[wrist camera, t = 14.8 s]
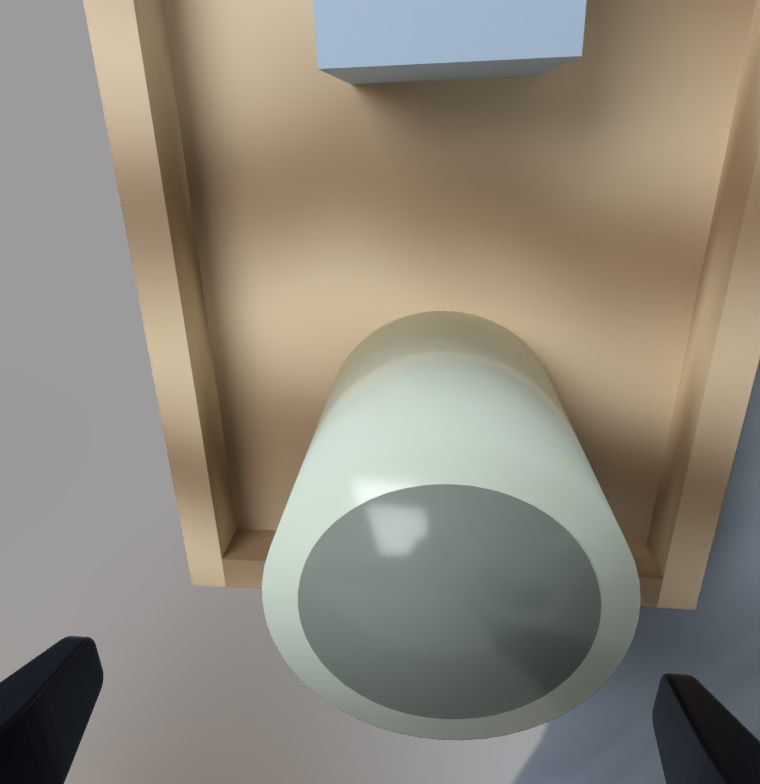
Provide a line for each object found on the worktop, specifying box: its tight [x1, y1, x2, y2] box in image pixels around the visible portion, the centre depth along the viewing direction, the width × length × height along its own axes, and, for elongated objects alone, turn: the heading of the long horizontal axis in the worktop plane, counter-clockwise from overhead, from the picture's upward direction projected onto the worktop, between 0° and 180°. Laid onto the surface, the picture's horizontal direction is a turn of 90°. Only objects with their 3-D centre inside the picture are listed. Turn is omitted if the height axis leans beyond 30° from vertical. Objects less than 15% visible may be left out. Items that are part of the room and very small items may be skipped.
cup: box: [262, 311, 641, 740], centre depth 13 cm, size 6×6×7 cm
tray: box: [83, 0, 760, 610], centre depth 14 cm, size 20×14×2 cm
